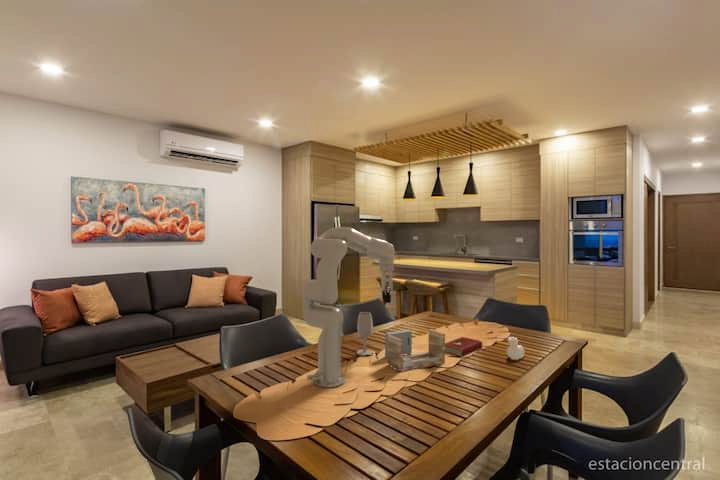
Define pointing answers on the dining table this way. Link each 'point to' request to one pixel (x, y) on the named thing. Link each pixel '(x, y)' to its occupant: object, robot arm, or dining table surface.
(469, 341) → the hardcover book
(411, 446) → the dining table surface
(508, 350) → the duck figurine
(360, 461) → the dining table surface
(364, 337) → the wineglass
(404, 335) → the door panel
